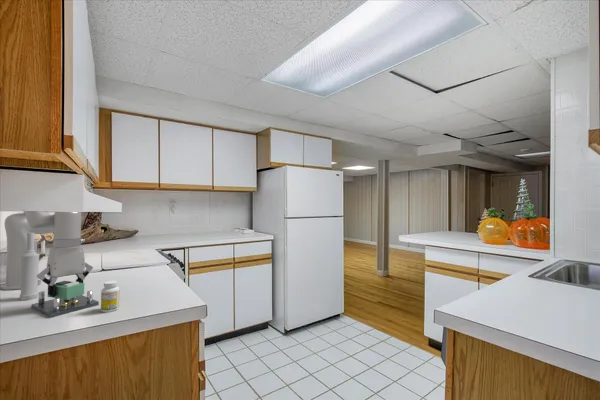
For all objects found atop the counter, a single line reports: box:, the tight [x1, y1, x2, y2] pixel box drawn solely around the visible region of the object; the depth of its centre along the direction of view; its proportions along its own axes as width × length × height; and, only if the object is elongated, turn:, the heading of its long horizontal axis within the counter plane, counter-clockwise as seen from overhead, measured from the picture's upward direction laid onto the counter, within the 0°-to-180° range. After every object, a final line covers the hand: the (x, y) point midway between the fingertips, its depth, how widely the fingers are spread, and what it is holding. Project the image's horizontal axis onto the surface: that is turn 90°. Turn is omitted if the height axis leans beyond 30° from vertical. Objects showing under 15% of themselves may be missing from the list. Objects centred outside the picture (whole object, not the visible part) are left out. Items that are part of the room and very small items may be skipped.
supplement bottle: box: [100, 280, 120, 313], centre depth 100 cm, size 5×5×10 cm
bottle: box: [19, 233, 40, 301], centre depth 110 cm, size 5×5×25 cm
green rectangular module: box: [47, 280, 85, 300], centre depth 102 cm, size 9×6×5 cm, turn 75°
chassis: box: [30, 290, 100, 319], centre depth 102 cm, size 16×14×5 cm
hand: (66, 292), depth 102 cm, fingers closed on green rectangular module, 7 cm apart
